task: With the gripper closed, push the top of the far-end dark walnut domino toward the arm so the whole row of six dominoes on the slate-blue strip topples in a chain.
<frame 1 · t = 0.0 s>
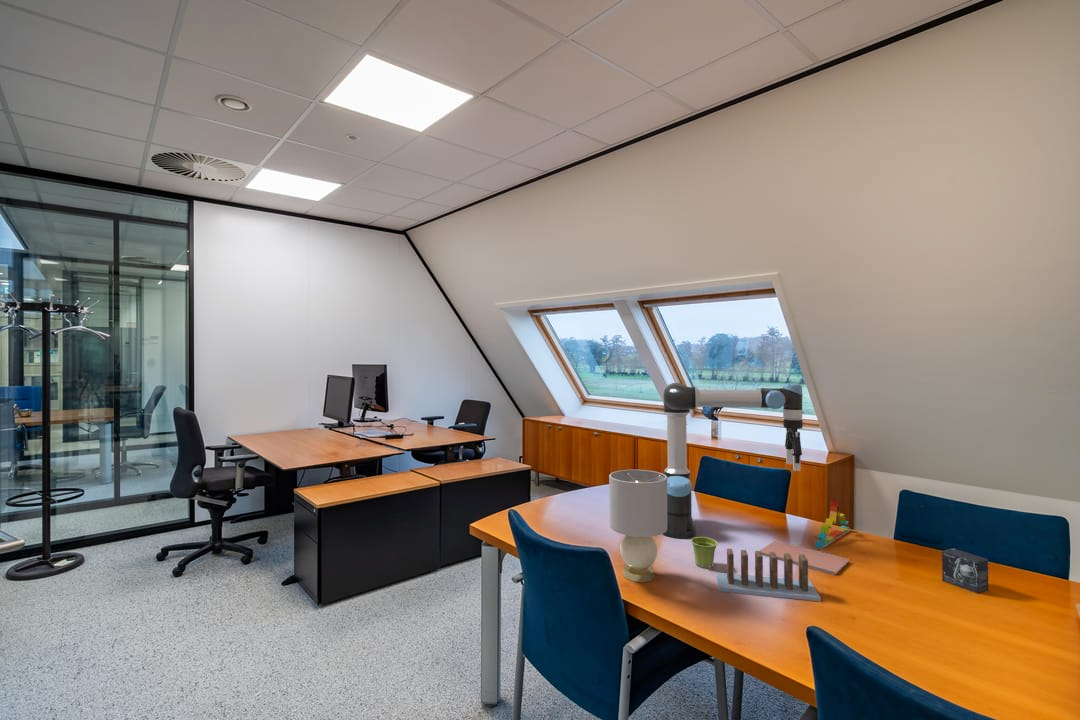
hand: (793, 467, 223), 28 cm above the table, fingers open, 13 cm apart
strip board: (765, 587, 169), on the table
domino 2: (788, 586, 167), point 1 cm above the table, touching strip board
domino 3: (773, 585, 168), point 1 cm above the table, touching strip board
domino 5: (744, 582, 171), point 1 cm above the table, touching strip board
lamp: (638, 576, 179), on the table
domino 4: (759, 583, 169), point 1 cm above the table, touching strip board
domino 6: (730, 580, 172), point 1 cm above the table, touching strip board
box: (964, 586, 169), on the table
plant pot: (704, 565, 188), on the table
notebook: (803, 560, 193), on the table
domino 1: (803, 587, 166), point 1 cm above the table, touching strip board
toy brick structure: (833, 539, 213), on the table
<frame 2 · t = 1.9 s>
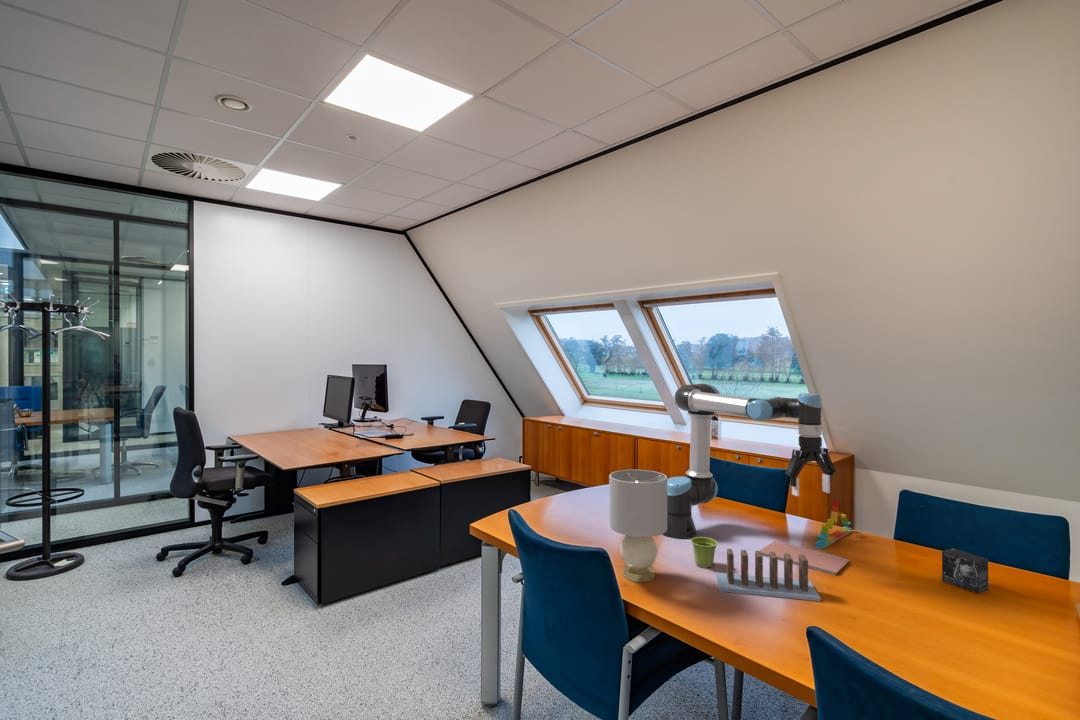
hand: (811, 493, 186), 26 cm above the table, fingers open, 13 cm apart
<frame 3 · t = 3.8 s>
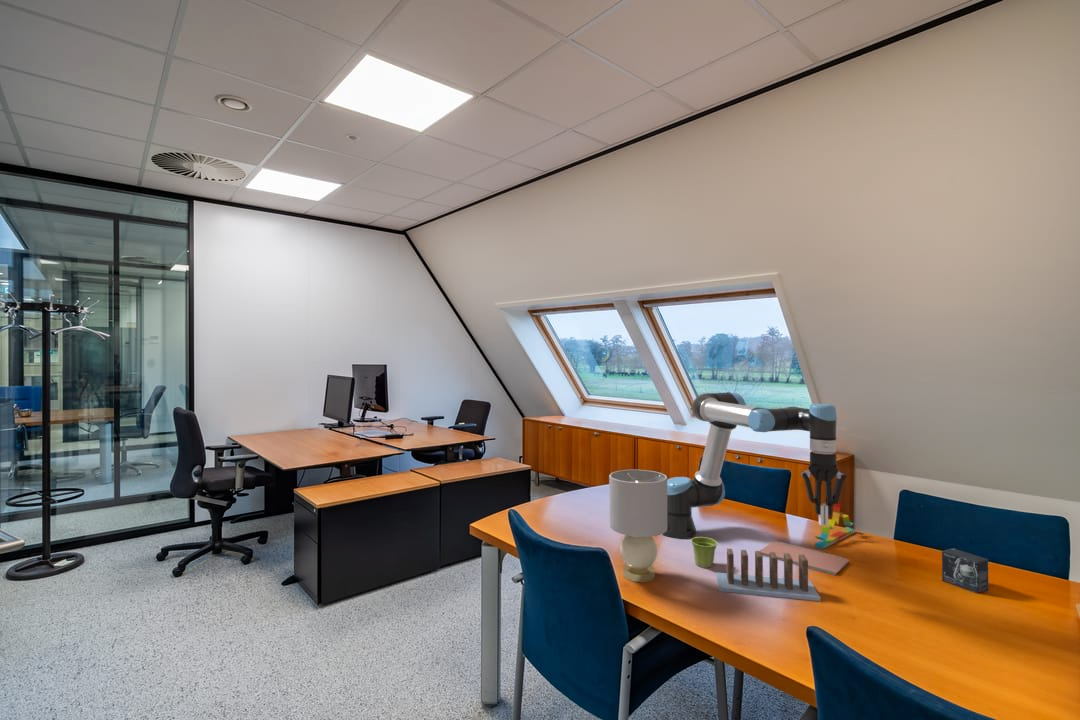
hand: (823, 524, 164), 22 cm above the table, fingers closed
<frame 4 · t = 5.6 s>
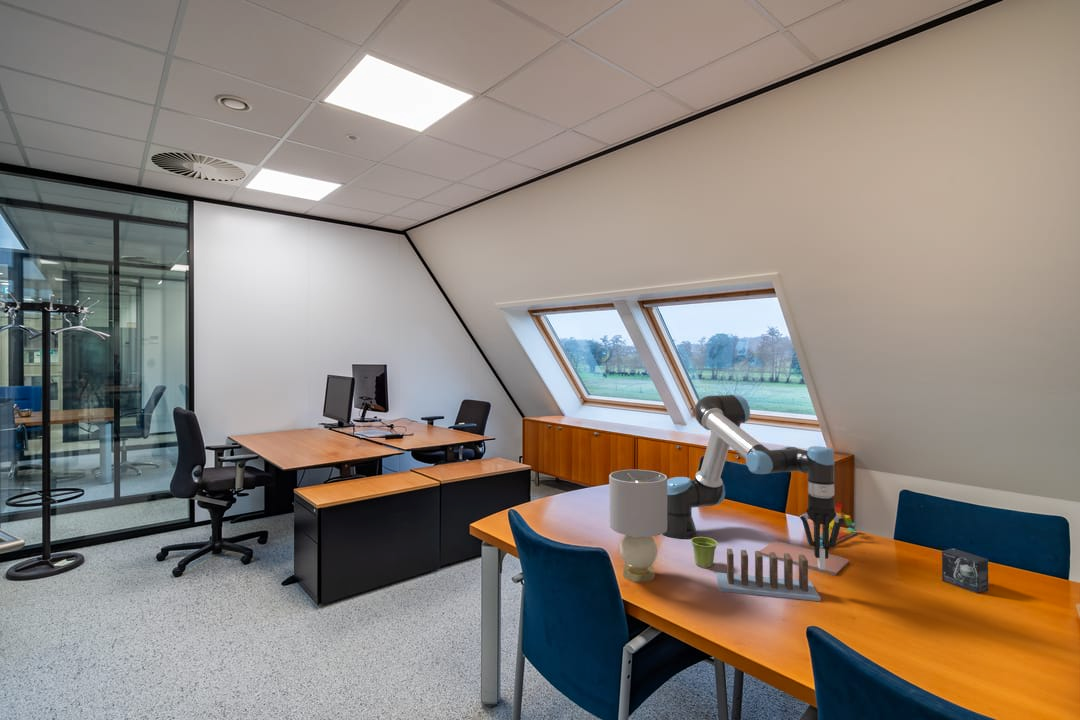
hand: (821, 567, 165), 8 cm above the table, fingers closed
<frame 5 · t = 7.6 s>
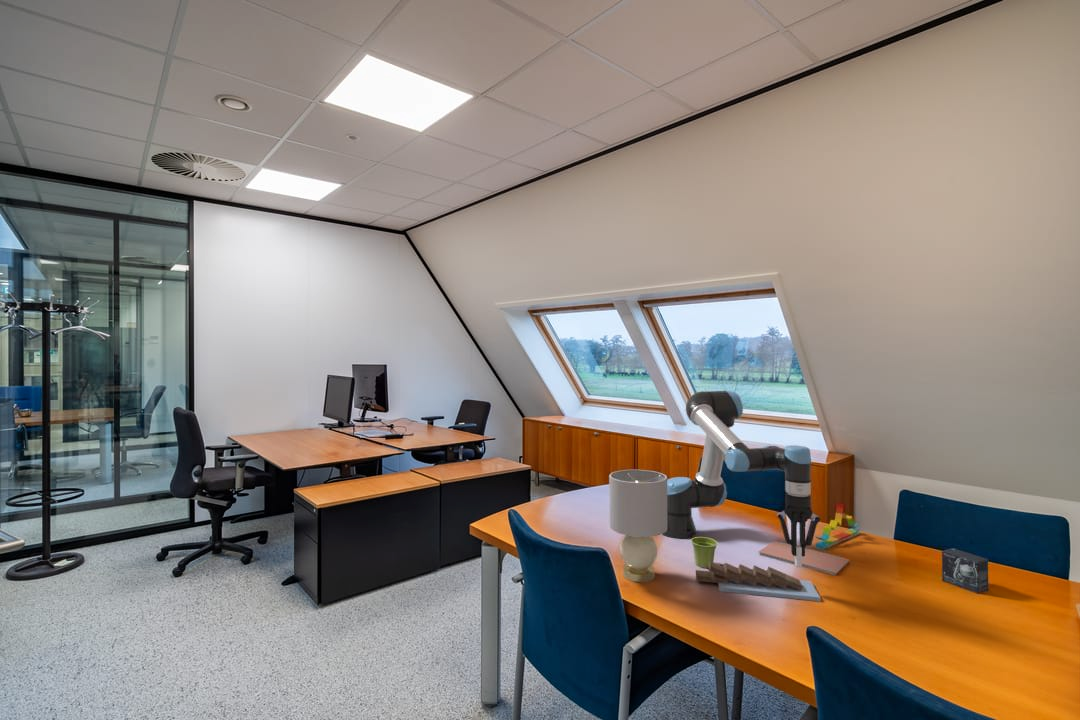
hand: (798, 565, 166), 8 cm above the table, fingers closed
domino 2: (784, 583, 167), point 2 cm above the table, tilted 69°, touching domino 1, domino 3, strip board
domino 3: (769, 582, 169), point 2 cm above the table, tilted 69°, touching domino 2, domino 4, strip board
domino 5: (738, 578, 171), point 2 cm above the table, tilted 69°, touching domino 4, domino 6
domino 4: (755, 581, 170), point 2 cm above the table, tilted 69°, touching domino 3, domino 5, strip board
domino 6: (726, 578, 172), point 2 cm above the table, tilted 90°, touching domino 5, strip board
domino 1: (799, 585, 166), point 2 cm above the table, tilted 69°, touching domino 2
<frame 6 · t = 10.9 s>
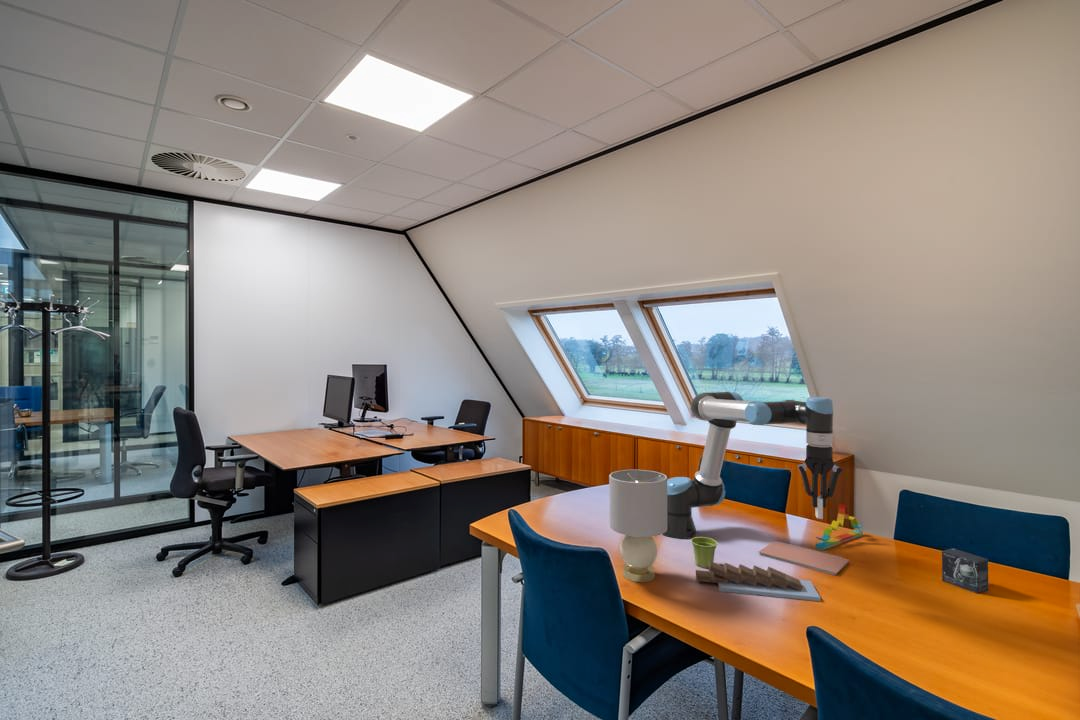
hand: (819, 517, 165), 25 cm above the table, fingers closed
toy brick structure: (840, 542, 210), on the table
everything else where it was.
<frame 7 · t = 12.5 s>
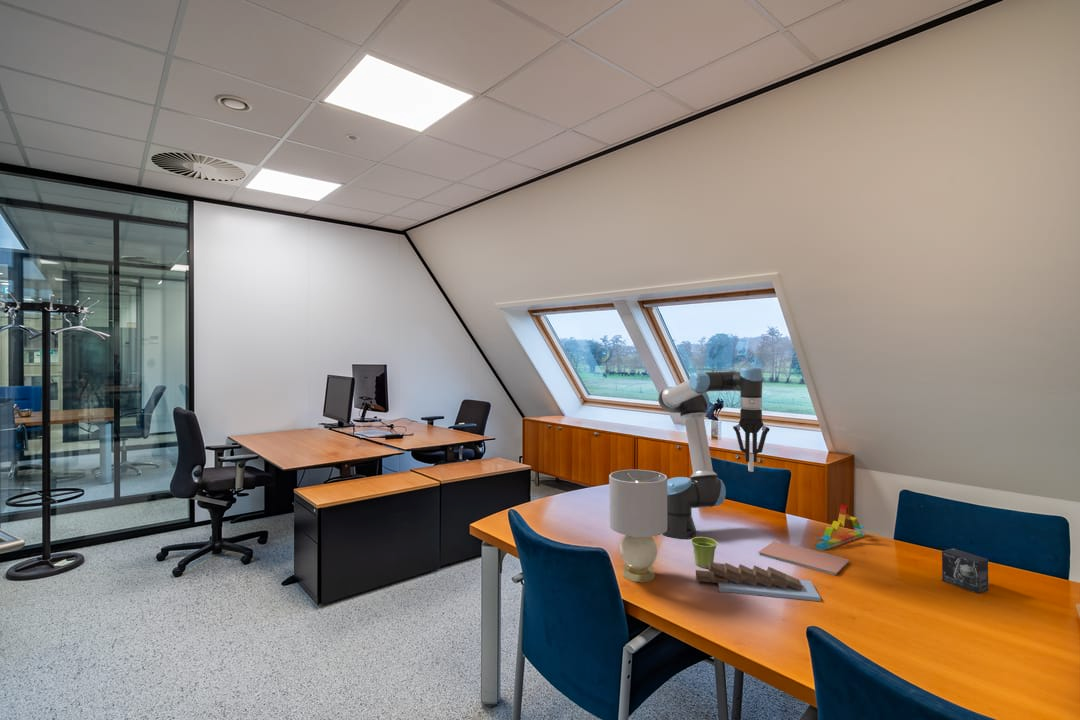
hand: (750, 470, 192), 34 cm above the table, fingers closed
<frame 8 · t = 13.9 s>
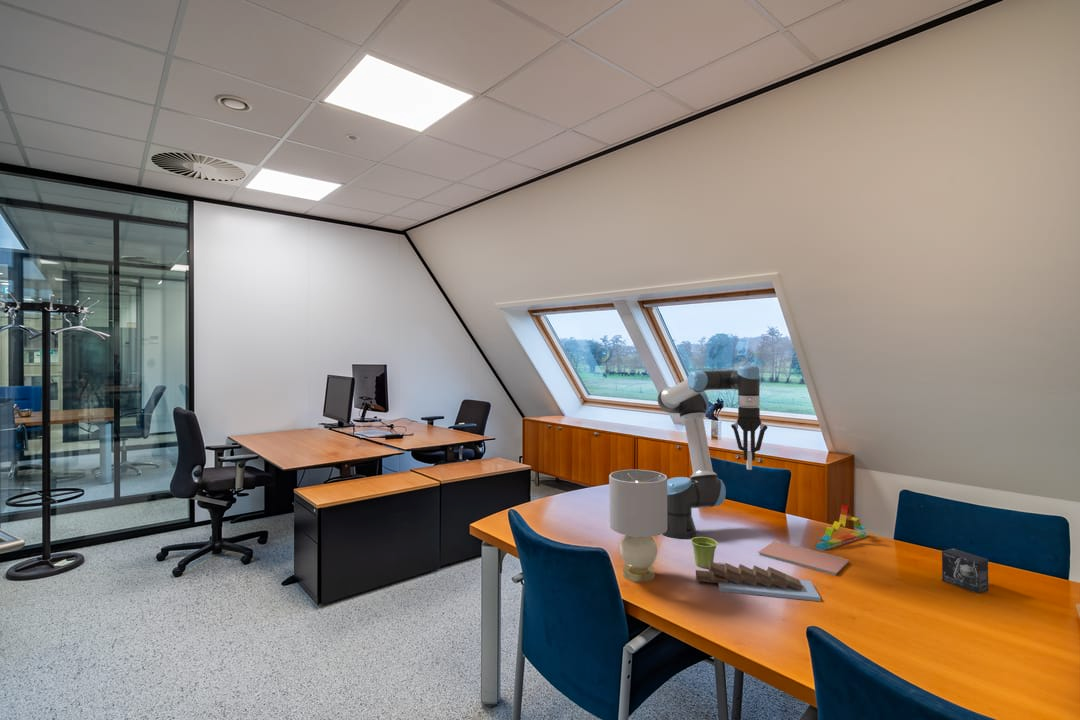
hand: (749, 468, 192), 34 cm above the table, fingers closed
at the end: domino 6 tilted 90°; domino 1 tilted 69° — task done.
